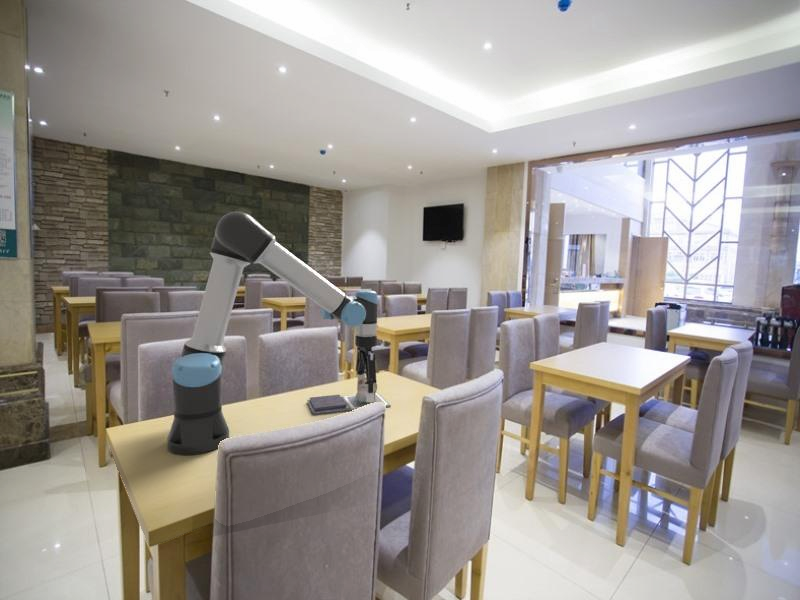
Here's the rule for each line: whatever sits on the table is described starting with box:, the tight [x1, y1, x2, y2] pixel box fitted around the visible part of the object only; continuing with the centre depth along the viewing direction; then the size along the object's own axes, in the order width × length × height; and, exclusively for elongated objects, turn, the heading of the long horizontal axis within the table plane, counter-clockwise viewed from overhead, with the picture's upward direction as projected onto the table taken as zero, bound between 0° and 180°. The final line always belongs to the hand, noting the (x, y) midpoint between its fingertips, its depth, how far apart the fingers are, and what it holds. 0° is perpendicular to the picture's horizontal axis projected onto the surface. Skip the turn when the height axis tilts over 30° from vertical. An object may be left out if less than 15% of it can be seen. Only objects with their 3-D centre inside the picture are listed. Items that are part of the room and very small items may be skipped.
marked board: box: [340, 392, 391, 411], centre depth 146 cm, size 14×14×1 cm
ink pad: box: [306, 394, 350, 415], centre depth 141 cm, size 12×12×2 cm
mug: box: [355, 376, 378, 403], centre depth 145 cm, size 8×10×10 cm
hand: (365, 396), depth 145 cm, fingers closed on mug, 10 cm apart
